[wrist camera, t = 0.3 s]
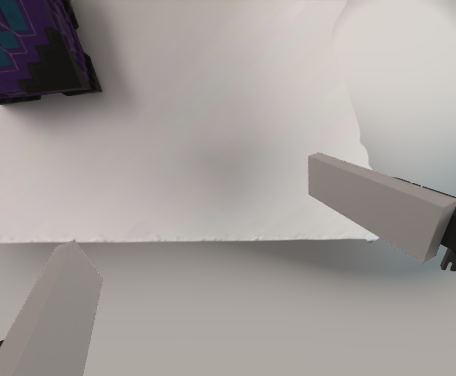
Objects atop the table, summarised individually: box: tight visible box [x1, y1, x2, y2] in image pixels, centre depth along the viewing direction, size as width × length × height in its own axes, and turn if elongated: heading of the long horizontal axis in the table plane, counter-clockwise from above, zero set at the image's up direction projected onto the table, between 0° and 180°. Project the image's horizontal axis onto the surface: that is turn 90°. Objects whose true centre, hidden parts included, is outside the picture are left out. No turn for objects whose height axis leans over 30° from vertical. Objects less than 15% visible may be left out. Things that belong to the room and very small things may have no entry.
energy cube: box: [0, 0, 102, 105], centre depth 21 cm, size 12×12×12 cm
